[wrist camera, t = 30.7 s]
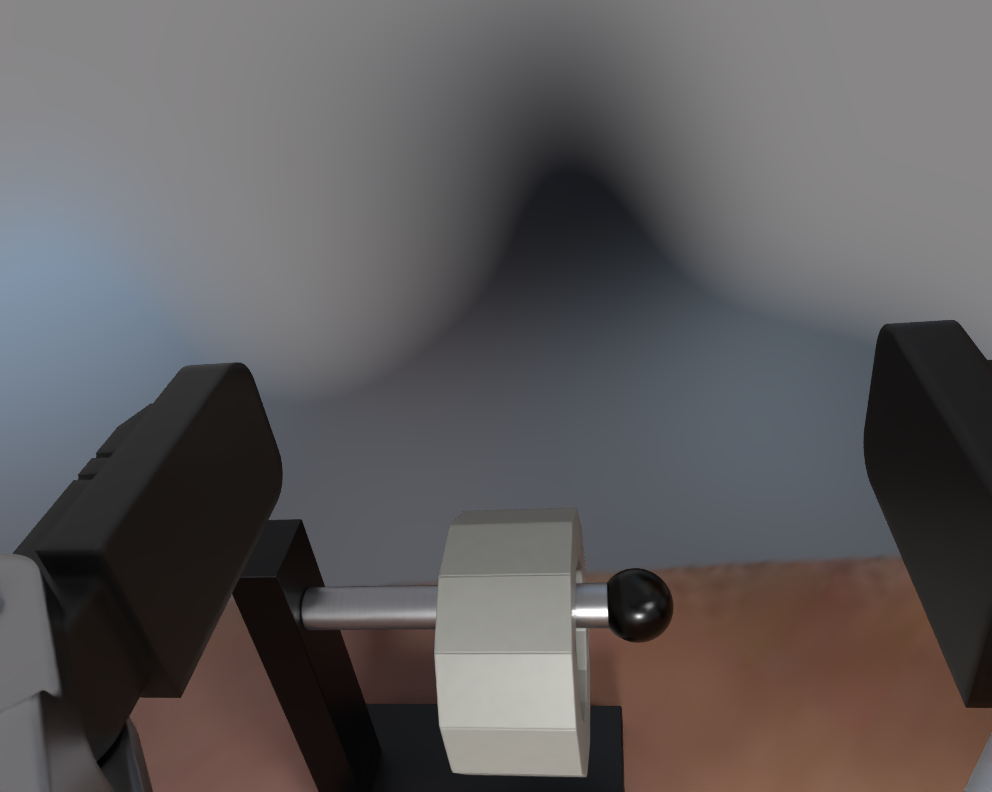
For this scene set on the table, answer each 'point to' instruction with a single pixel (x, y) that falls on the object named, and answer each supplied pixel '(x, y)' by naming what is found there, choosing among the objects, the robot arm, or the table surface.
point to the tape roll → (513, 645)
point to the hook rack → (402, 727)
